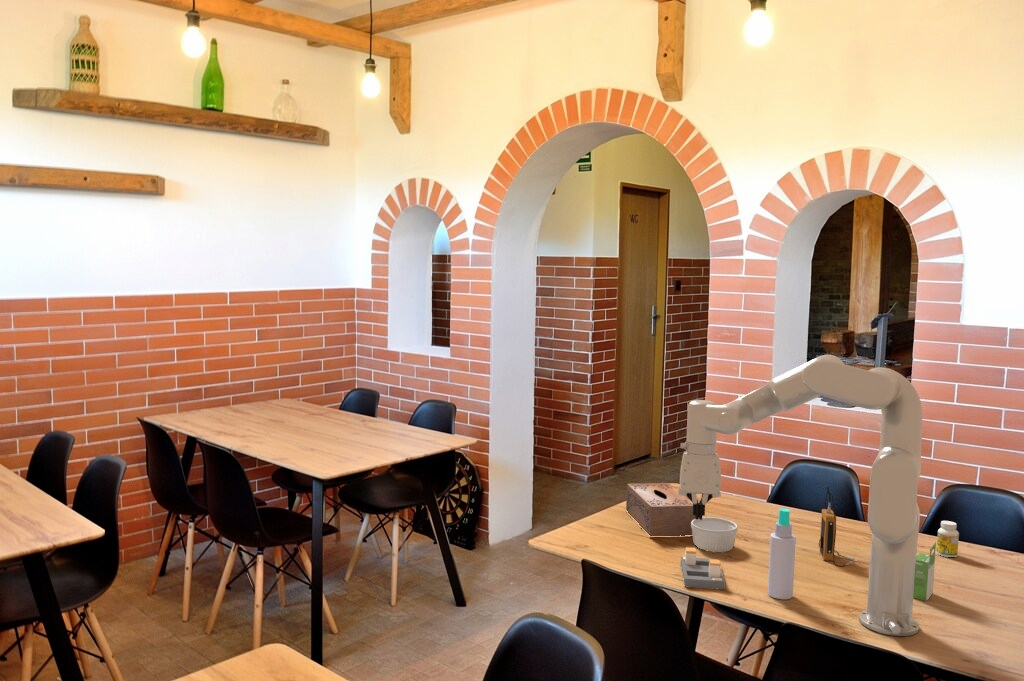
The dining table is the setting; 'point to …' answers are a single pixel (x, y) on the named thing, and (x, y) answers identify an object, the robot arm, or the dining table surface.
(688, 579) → the switch board
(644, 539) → the dining table surface
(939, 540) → the supplement bottle
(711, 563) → the white upright block
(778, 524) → the spray bottle
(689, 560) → the tab
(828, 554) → the multimeter
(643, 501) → the tissue box cover
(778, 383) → the robot arm
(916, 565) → the ink box
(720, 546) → the ramekin
